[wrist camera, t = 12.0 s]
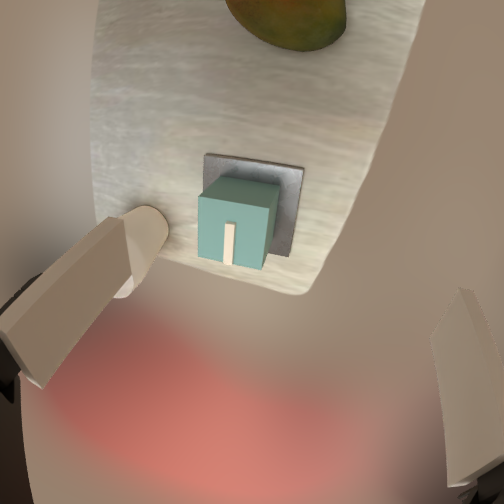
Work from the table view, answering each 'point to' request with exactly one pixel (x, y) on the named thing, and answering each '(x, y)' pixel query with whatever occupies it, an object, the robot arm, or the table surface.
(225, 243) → the teal block
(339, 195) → the table surface
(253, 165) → the shaft fixture
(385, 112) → the table surface
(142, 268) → the cup
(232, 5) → the fruit
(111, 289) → the robot arm
